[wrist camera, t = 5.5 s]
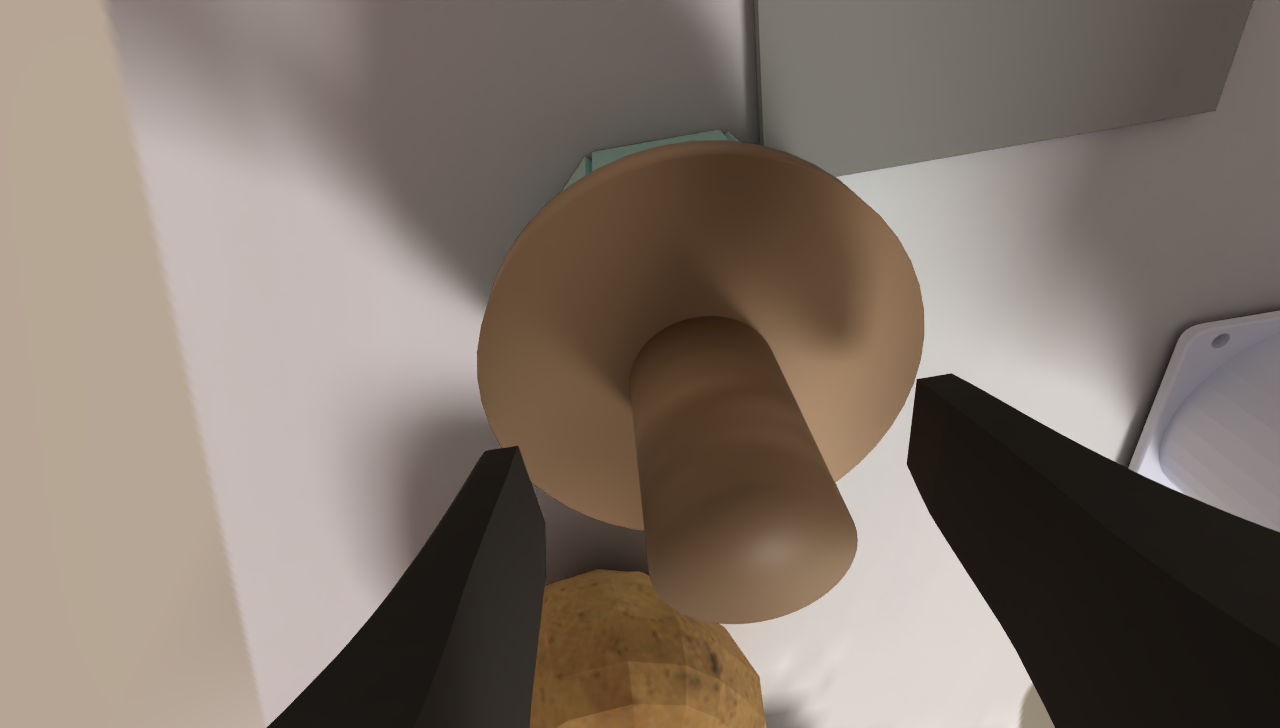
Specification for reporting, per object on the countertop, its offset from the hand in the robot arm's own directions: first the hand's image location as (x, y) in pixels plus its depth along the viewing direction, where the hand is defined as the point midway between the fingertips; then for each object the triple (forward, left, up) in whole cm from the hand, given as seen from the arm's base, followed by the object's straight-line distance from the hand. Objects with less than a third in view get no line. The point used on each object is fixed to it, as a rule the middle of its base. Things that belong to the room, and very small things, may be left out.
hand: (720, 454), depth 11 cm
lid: (0, 0, -3) cm, 3 cm away
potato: (+4, +14, -7) cm, 16 cm away
